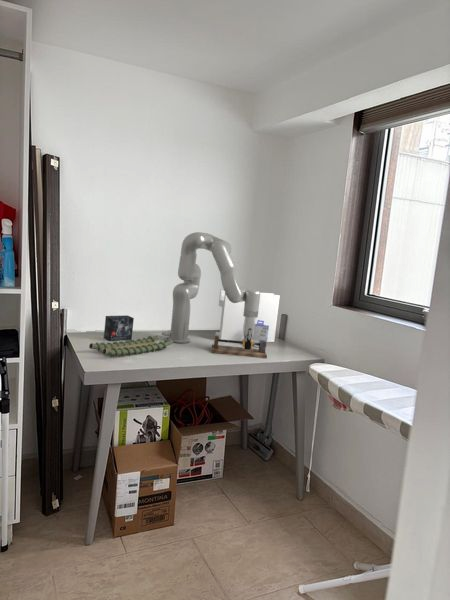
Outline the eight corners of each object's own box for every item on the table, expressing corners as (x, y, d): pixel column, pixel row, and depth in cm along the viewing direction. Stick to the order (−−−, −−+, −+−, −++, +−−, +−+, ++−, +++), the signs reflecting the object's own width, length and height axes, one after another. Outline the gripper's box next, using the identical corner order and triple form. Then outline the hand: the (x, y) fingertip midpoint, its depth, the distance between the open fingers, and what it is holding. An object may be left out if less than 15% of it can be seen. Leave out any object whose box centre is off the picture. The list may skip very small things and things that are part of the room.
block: (220, 341, 262) (226, 292, 258) (215, 338, 269) (220, 290, 265) (274, 341, 277) (280, 295, 273) (267, 338, 284) (273, 293, 280)
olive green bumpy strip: (105, 360, 202) (106, 349, 202) (87, 352, 212) (87, 342, 211) (173, 350, 233) (174, 340, 233) (154, 343, 243) (155, 334, 242)
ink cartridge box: (266, 346, 262) (269, 321, 260) (265, 348, 257) (268, 323, 255) (249, 343, 264) (252, 318, 262) (248, 345, 259) (251, 320, 257)
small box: (109, 341, 235) (111, 318, 233) (103, 338, 240) (104, 315, 238) (132, 339, 244) (134, 317, 242) (125, 336, 249) (127, 315, 247)
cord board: (211, 352, 234) (213, 338, 233) (211, 347, 246) (212, 333, 245) (266, 358, 236) (268, 343, 235) (263, 352, 248) (265, 338, 247)
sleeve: (242, 346, 239) (243, 340, 238) (241, 345, 242) (242, 338, 242) (251, 347, 239) (252, 340, 239) (251, 346, 243) (252, 339, 242)
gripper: (242, 310, 247) (238, 342, 249) (244, 316, 230) (240, 350, 232) (256, 311, 247) (252, 344, 250) (259, 317, 230) (255, 352, 232)
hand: (246, 347), depth 241 cm, fingers open, 7 cm apart
